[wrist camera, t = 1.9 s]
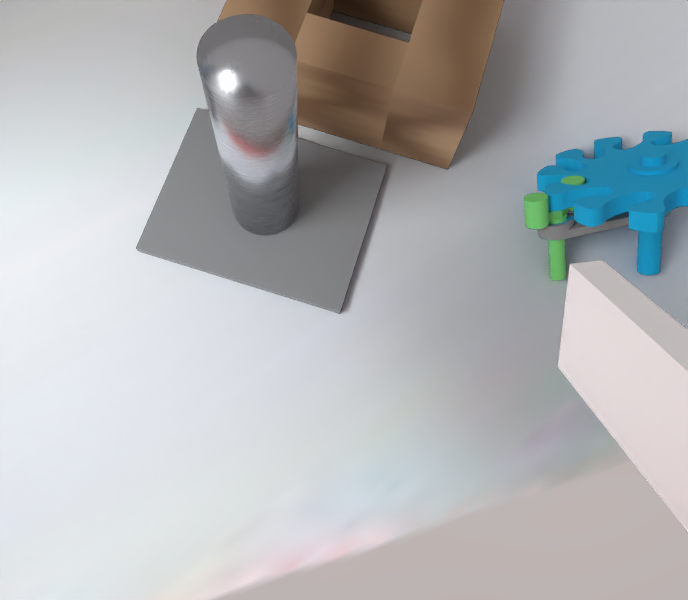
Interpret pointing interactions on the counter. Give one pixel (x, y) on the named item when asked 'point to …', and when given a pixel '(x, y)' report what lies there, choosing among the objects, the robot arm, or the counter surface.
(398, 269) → the counter surface
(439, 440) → the counter surface
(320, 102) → the hole block
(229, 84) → the peg
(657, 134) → the gear
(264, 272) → the mat
